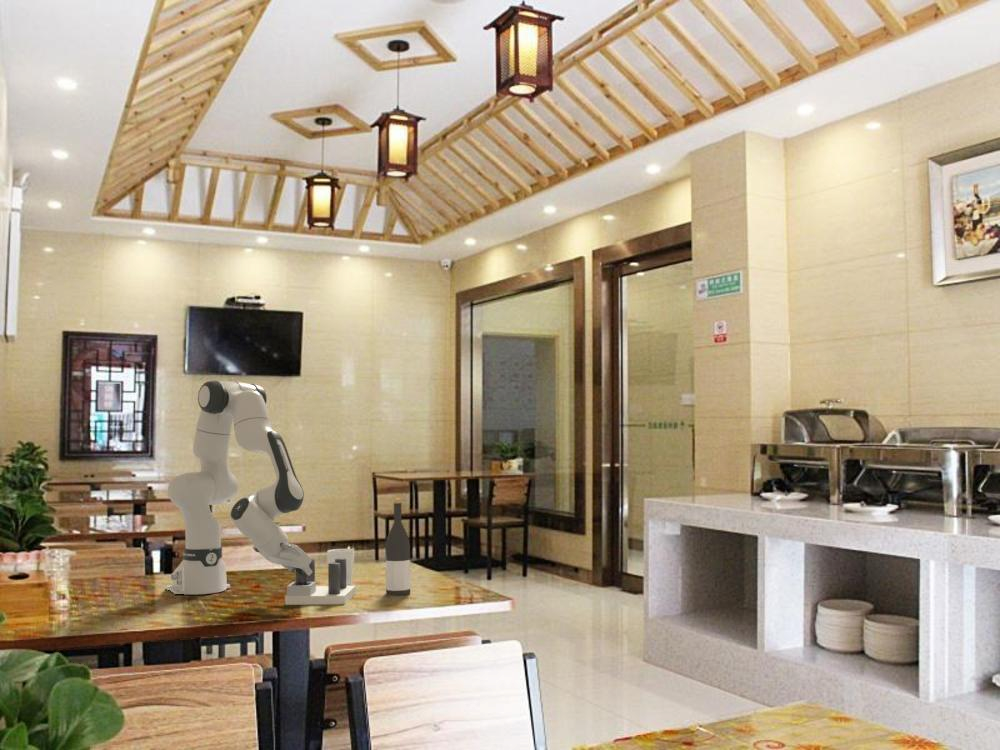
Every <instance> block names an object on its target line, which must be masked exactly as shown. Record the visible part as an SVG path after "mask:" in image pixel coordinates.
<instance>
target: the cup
mask: <svg viewBox="0 0 1000 750" xmlns="http://www.w3.org/2000/svg"><path fill="white" fill-rule="evenodd" d="M354 551H355V550H354V548H333V549H328V550H327V552H326V553H327V554H326V564H327V565H326V566H328V564H329V563H335V559H338V558H346V586H352V585H351V584H352V580H353V579H352V578H353V570H354V562H355V552H354Z"/></svg>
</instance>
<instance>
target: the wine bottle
mask: <svg viewBox="0 0 1000 750" xmlns="http://www.w3.org/2000/svg"><path fill="white" fill-rule="evenodd" d="M401 500H402V499H401V497H399V498H397V497H396V498H394V503H393V523H392V526H391V528H390V530H389V532H388V536H387V538H386V543H385V592H386V595H387V596H392V597H393V596H405V595H406V596H408V595H409V594H411V544H410V539H409V536H408V533H407V531H406V528H405V527H404V525H403V522H402V505H403V504H402V502H401Z"/></svg>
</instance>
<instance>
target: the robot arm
mask: <svg viewBox="0 0 1000 750" xmlns="http://www.w3.org/2000/svg"><path fill="white" fill-rule="evenodd" d="M197 395H198V396H197V404H198V405H199V407H200V413H199V415H198V419H197V422H196V423H197V424H196V430H195V434H194V440H193V445H192V453H193V455H194V456H195V457H196V458H197V459H199V461H200V471H193V472H191V471H190V472H184V473H181V474H179V475H175V476H174V477H173V478H171V480H170V481H169V484H168V486H167V494H168V498H169V500H170V502H171V503H172V504H173V505H175V506H176V507H177V508H178V510H179V512H180V513H181V515H182V519H183V522H184V528H185V532H184V533H185V536H184V537H185V547H184V549H183V550H182V551H183V552H182V561H181V562H180V564H179V565H178V566H177V567H176V568H175V569H174V571H173V572H172V573H171V574H170V578H171V580H172V584H169V585H168V584H167V585H165V588H167V589H168V590H170V591H171V592H173V593H174V594H173V593H172V594H173V595H175V594H184V595H207V594H216V593H221V592H224V591H226V590H227V589H230V588H231V584H230V583H227V582H228V580H227V579H228V578H227V568H226V563H225V562H224V561H223V560H222V558H223V552H224V551H223V547H222V544H221V543H222V524H221V522H220V521H219V519H217V518H215V517H214V515H213V514H212V512H211V507H210V505H216V504H222V503H226V502H227V501H230V500H233V498H234V497H236V495H237V492H238V480H237V479H236V477H235V475H234V474H233V473H232V472H231V469H230V466H229V459H228V456H229V447H230V441H231V435H232V434H231V433H232V428H233V429H234V436H235V440H236V443H237V444H238V445H239V446H240V447H241V448H242V449H244V450H246V451H248V452H251V453H263V454H264V453H267V454H268V456H269V457H270V461H271V463H272V466H273V470H274V474H275V476H276V478H275V481H274V483H271V484H268V485H267V486H264V487H262V488H260V489H257V490H255V491H252V492H251V493H249V495H248V496H247V497H243V498H240V499H239V500H238V501H236V503H234V505H233V506H232V508H231V511H230V519H231V520H232V523H233V524H234V526H235V527H236V528H237V529H238V530H239V531H240V533H241V534H243V535H244V536H245V538H247V540H248V539H249V540H250V541H251V542H252V543H253V546H252V549H253V550H254V552H256V553H259V554H260V555H261V556H262V557H263V558H265V559H266V560H267V561H268V562H270V563H271V564H275V565H281V567H283V568H285V569H287V570H288V572H290V573H294V572H295V568H300V569H303V571H304V573H305V574H306V575H309V576H310V575H311V574H312V570H311V569H310V567H309V564H310V563H311V561H312V560H311V559H312V558H311V557H310V556H309V555H308V554H307V553H306V552H305V551H304V550H303V549H302V548H300V546H299V545H296V544H294V543H289V542H288V541H289V536H288V534H287V533H286V532H285V531H284V530H283V529H282V528H281V527H280V526H279V525H278V524H277V523H275V522H274V521H275V518H278V517H280V516H282V515H284V514H288V513H291V512H296V511H298V510H299V509H300V508H301V506H302V505H303V501H304V497H305V494H304V493H305V492H304V489H303V486H302V484H301V483H300V482H299V479H298V477H297V475H296V473H295V472H296V471H295V468H294V466H293V463H292V461H291V458H290V454H289V451H288V449H287V446H286V443H285V441H284V439H283V437H282V436H281V434H280V433H279V432H277V431H274V430H273V427H272V424H271V419H270V415H269V411H268V407H267V399H268V398H267V394H266V391H265V389H264V388H263V387H262V386H260V385H257V384H254V383H247V382H243V381H234V380H233V381H222V380H221V381H218V380H210V381H205V382H204V383H203V384H202V385H201V387H200V389H198V393H197ZM168 590H167V591H168ZM170 591H169V592H170ZM171 592H170V593H171Z"/></svg>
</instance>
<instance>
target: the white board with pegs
mask: <svg viewBox="0 0 1000 750" xmlns="http://www.w3.org/2000/svg"><path fill="white" fill-rule="evenodd" d="M311 560H312V561H311V563H310V564H309V567H310V569H311V570H312V574H311V575H310V576H309V575H307V585H295V581H292V582H291V583H289V584H288V585H286V595H284V604H285V605H286V606H288V605H289V606H294V605H295V606H296V605H297V606H298V605H301V606H302V605H303V606H304V605H306V606H308V605H346V604H347V603H348V601H350V600H351V599H352V598H353V597H354V596H355V595H356V593H357V586H356V585H351V586H346V558H338V559H335V563H329V564H328V565H327V571H328V573H327V574H328V575H327V576H328V577H327V579H328V585H317V583H316V567H315V566H316V559H315V558H311Z"/></svg>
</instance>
